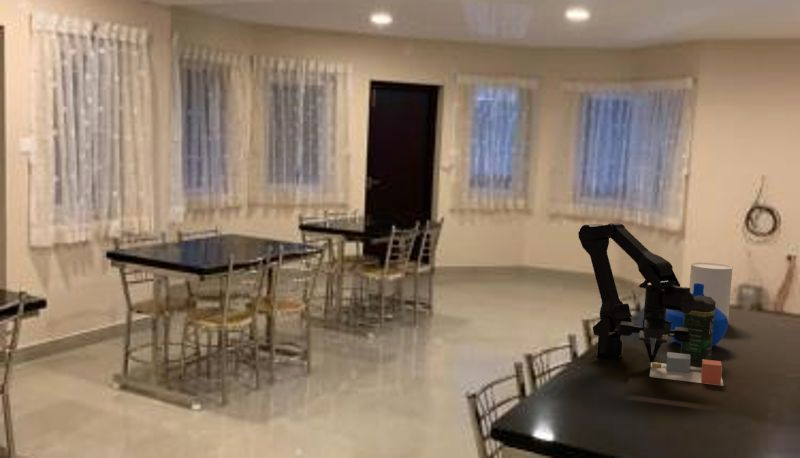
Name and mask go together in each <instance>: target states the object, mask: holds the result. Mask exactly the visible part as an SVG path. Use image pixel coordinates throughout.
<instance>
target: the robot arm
mask: <svg viewBox="0 0 800 458" xmlns="http://www.w3.org/2000/svg"><path fill="white" fill-rule="evenodd" d="M578 239H579V242H580V245H581V247H582V248H583V249H584V250H585V252H586V253H587V254H588V255H589V257H590V261H591V264H592V265H591V266H592V268H593V273H594V275H595V280H596V283H597V287H598V288H597V289H598V293H599V295H600V299H601V307H600V309H599V319H600V320H599V321H598V322H596V324H594V325H593V327H592V331H593V335H595V336H597V352H596V354H595V356H596V357H599V358H608V359H616V360H620V358H621V356H623V348H624V347H623V346H624V340H623V339H622V336H625V337H630V336H631V335H633V334H638V335H639V336H638V339H639V341H642V342H643V343H644V346H645V348H646V352H647V355H648V359H649V362H650V363H651V362H652V363H653V362H655V359H656V357H657V354H658V353H659V349H660V348H661V346H662V344H665V343H668V338H669V337H671V338H672V337H675V339H676V340H677V341H681V342H690V330H689V328H684V327H675V330H671V321H666V313H667V311H668V310H672V311H676V312H680V313H685V314H688V313H690V312H691V311H692V309H693V307H694V303H695V300H694V297H693V295H692V294H691V293H690V288H689V287H687V286H686V287H685V286H684V287H683V286H681V283H680V282H679V280H678V278H677V276H676V274H675V272H674V269H673V268H674V267H673V265H672V263H671V262H669V260H666V259H665V258H663V256H661V255H658V254H655V253H653V252H651V251H650V250H649V249H648V248H647V247H646V246H645V245H644V244H643V243H641V241H640V240H639V239H637V238H636V237H635V235H633V234H632V233H631V232H630V231H629V230H628V229H627V228H626V226H625V225H624V224H623V223H620V222H612V223H607V224H601V223H595V224H594V223H593V224H591V223H590V224H584V225H582V226H581V227H580V228H579V231H578ZM610 239H612V241H613V242H614V243H616V245H617V246H618V247H620V249H622V251H624V252H625V254H627V255H628V256H629V257H630V258H631V259H632V260H633V261H634V262H635V264H636V266H637V269H638V272H639V273H640V275H641V276H642V278H643V279H644V281H642V283H640V284H639V285H638V288H641V289H645V295H644V308H643V309H644V310H643V320H642V326H639V325H635V322H632V318H633V315H632V314H631V310H630V305H629V303H623V301H622V300H621V299H620V297H619V296H620V295H619V292H618V289H617V285H616V281H615V277H614V275H613V270H612V267H611V263H610V259H609V255H608V249H609V245H610ZM652 339H655V340H654V341H655V342H654V346H653V348H652Z"/></svg>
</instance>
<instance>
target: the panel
mask: <svg viewBox="0 0 800 458" xmlns="http://www.w3.org/2000/svg"><path fill="white" fill-rule="evenodd" d="M649 369H650V370H649V377H650V378H657V379H665V380H672V381H681V382H691V383H698V384H702V383H701V371H702V367H698V366H691V365H690V373H687V372H678V371H670V370H666V363H663V362H662V363H661V362H655V361H654V362H653V363H652V362H650V368H649ZM722 375H723V368H722V369H721V382H720V385H719V386H722V387H723V386H724V382H723V376H722ZM704 384H707V385H710V384H709V383H704ZM713 385H715V386H718V385H717V384H712V386H713Z"/></svg>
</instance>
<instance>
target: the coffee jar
mask: <svg viewBox="0 0 800 458" xmlns="http://www.w3.org/2000/svg"><path fill="white" fill-rule="evenodd" d="M694 300H695V303H694V307H693V309H692V311H691V312H690V313H688V314H685V313H684V322H683V327H684V328H689V330H690V342H682V343H681V345H680V353H681V354H690V358H691V361H697V362H702V359H704V360H712V353H713V352H712V350H713V349H712V348H713V347H712V337H713V324H714V315H715V304H716V302H715V301H714V300H713V299H712V298H711V297H707V296H700V295H697V296H695V297H694Z"/></svg>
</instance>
